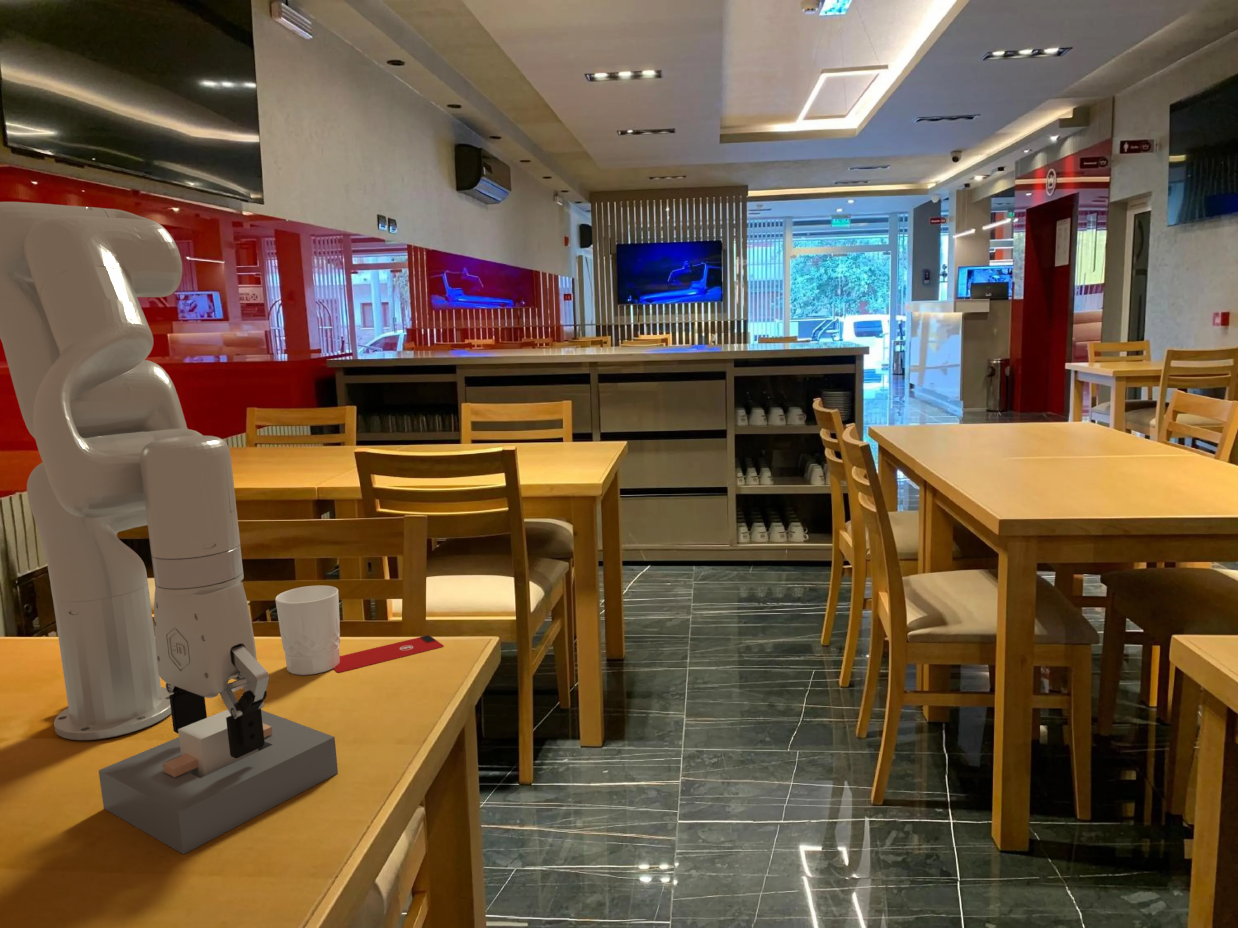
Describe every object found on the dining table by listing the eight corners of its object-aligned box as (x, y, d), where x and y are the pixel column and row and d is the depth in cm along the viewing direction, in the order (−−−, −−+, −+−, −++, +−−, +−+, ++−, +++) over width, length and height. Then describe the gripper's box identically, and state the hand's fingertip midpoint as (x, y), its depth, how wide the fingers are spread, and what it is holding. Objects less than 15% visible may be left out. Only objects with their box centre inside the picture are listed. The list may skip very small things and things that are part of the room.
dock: (103, 808, 83) (98, 769, 82) (256, 740, 96) (252, 706, 95) (183, 854, 75) (178, 812, 74) (337, 772, 88) (334, 736, 87)
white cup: (300, 654, 121) (293, 585, 120) (354, 655, 120) (348, 585, 118) (271, 676, 113) (263, 603, 112) (328, 677, 112) (321, 603, 111)
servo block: (161, 798, 82) (154, 738, 81) (258, 754, 90) (252, 699, 89) (184, 810, 80) (176, 749, 79) (281, 764, 88) (275, 708, 87)
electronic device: (337, 676, 114) (445, 649, 122) (337, 672, 114) (444, 645, 122) (325, 662, 119) (429, 637, 127) (324, 658, 119) (429, 634, 127)
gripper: (111, 566, 83) (133, 734, 86) (212, 591, 74) (233, 780, 76) (187, 548, 90) (205, 705, 92) (290, 570, 80) (307, 745, 82)
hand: (218, 739), depth 84 cm, fingers open, 9 cm apart
